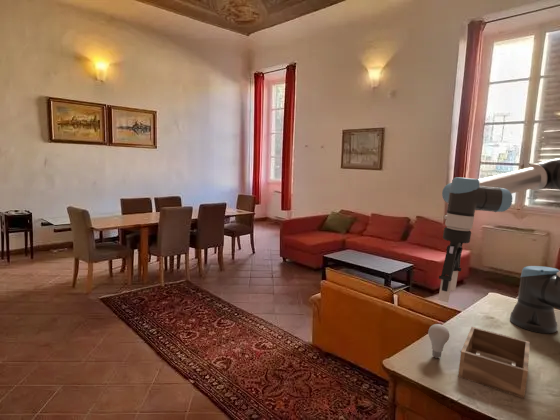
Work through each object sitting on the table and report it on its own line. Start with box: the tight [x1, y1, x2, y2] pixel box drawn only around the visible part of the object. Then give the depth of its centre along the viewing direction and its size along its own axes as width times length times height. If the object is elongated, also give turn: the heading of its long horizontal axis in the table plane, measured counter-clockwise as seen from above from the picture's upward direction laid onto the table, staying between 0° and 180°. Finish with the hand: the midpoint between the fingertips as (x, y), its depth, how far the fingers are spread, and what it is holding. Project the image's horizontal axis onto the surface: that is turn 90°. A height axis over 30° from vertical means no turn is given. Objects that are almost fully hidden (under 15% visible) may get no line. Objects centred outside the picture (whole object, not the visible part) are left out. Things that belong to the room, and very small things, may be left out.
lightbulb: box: [427, 323, 450, 359], centre depth 115 cm, size 6×6×11 cm
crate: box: [457, 326, 531, 399], centre depth 109 cm, size 20×16×8 cm
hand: (447, 295), depth 114 cm, fingers open, 13 cm apart
